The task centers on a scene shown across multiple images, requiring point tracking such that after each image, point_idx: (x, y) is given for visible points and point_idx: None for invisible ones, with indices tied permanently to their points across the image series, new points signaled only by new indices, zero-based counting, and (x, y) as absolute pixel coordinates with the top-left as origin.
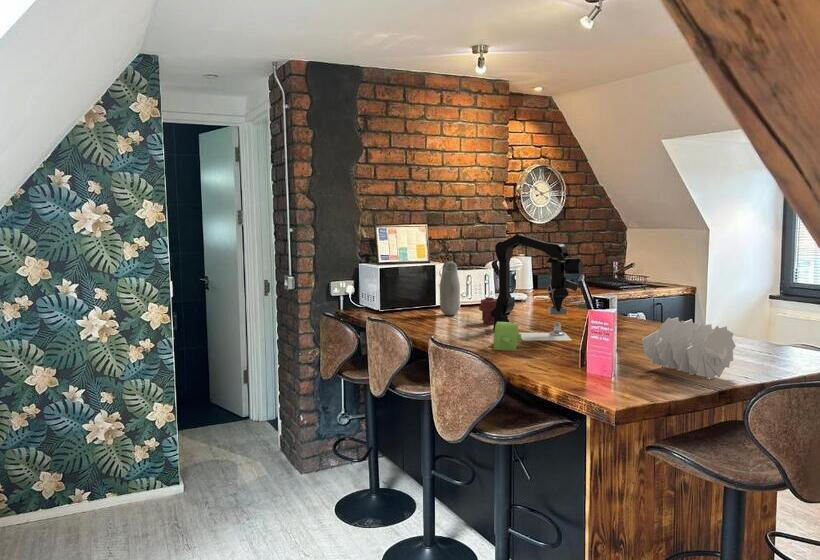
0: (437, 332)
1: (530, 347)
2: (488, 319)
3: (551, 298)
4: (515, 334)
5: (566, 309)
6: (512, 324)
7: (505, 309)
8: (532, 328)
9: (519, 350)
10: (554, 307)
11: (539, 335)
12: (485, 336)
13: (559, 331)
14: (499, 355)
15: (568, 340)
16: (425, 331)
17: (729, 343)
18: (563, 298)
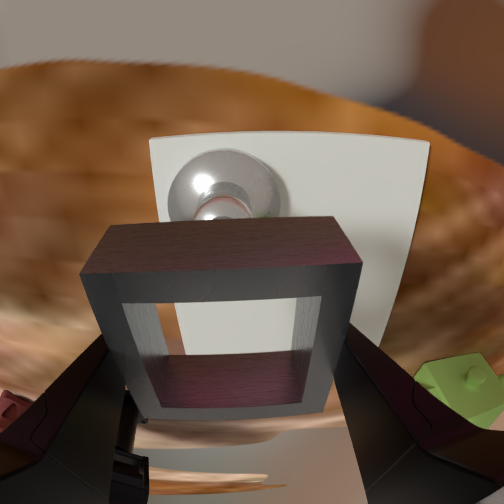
0: (204, 480)
1: (464, 324)
2: None
3: (109, 486)
4: (502, 388)
5: (357, 255)
6: (474, 424)
7: (143, 484)
8: (28, 305)
9: (480, 344)
10: (153, 374)
11: (264, 303)
12: (254, 434)
13: (247, 199)
14: (495, 369)
15: (426, 165)
16: (195, 487)
17: None
18: (497, 441)
